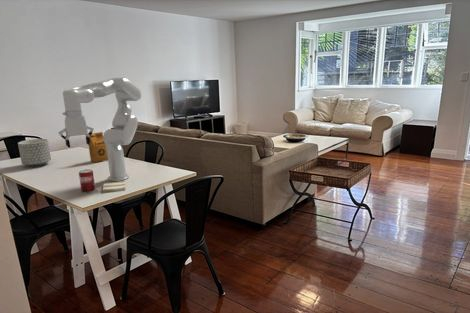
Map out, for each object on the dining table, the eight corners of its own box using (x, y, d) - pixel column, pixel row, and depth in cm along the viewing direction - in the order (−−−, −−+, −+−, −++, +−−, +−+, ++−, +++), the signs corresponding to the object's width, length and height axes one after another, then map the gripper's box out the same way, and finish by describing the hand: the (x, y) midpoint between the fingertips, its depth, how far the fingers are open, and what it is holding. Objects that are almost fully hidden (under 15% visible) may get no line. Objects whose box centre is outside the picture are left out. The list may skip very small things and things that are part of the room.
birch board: (104, 185, 195) (103, 183, 195) (125, 183, 199) (124, 181, 198) (102, 192, 184) (102, 190, 184) (125, 189, 188) (125, 187, 187)
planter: (35, 169, 233) (30, 144, 229) (16, 167, 240) (11, 143, 235) (57, 162, 251) (53, 139, 246) (39, 161, 257) (35, 138, 253)
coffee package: (110, 160, 254) (107, 132, 248) (94, 163, 245) (90, 134, 240) (105, 158, 261) (101, 130, 255) (89, 161, 252) (85, 133, 247)
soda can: (92, 193, 184) (90, 172, 181) (79, 193, 183) (76, 173, 180) (97, 188, 191) (94, 168, 188) (84, 189, 190) (81, 169, 187)
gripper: (57, 116, 164) (62, 149, 169) (93, 112, 175) (97, 144, 179) (54, 114, 170) (59, 147, 174) (89, 111, 180) (93, 142, 185)
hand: (78, 145), depth 177 cm, fingers open, 9 cm apart
